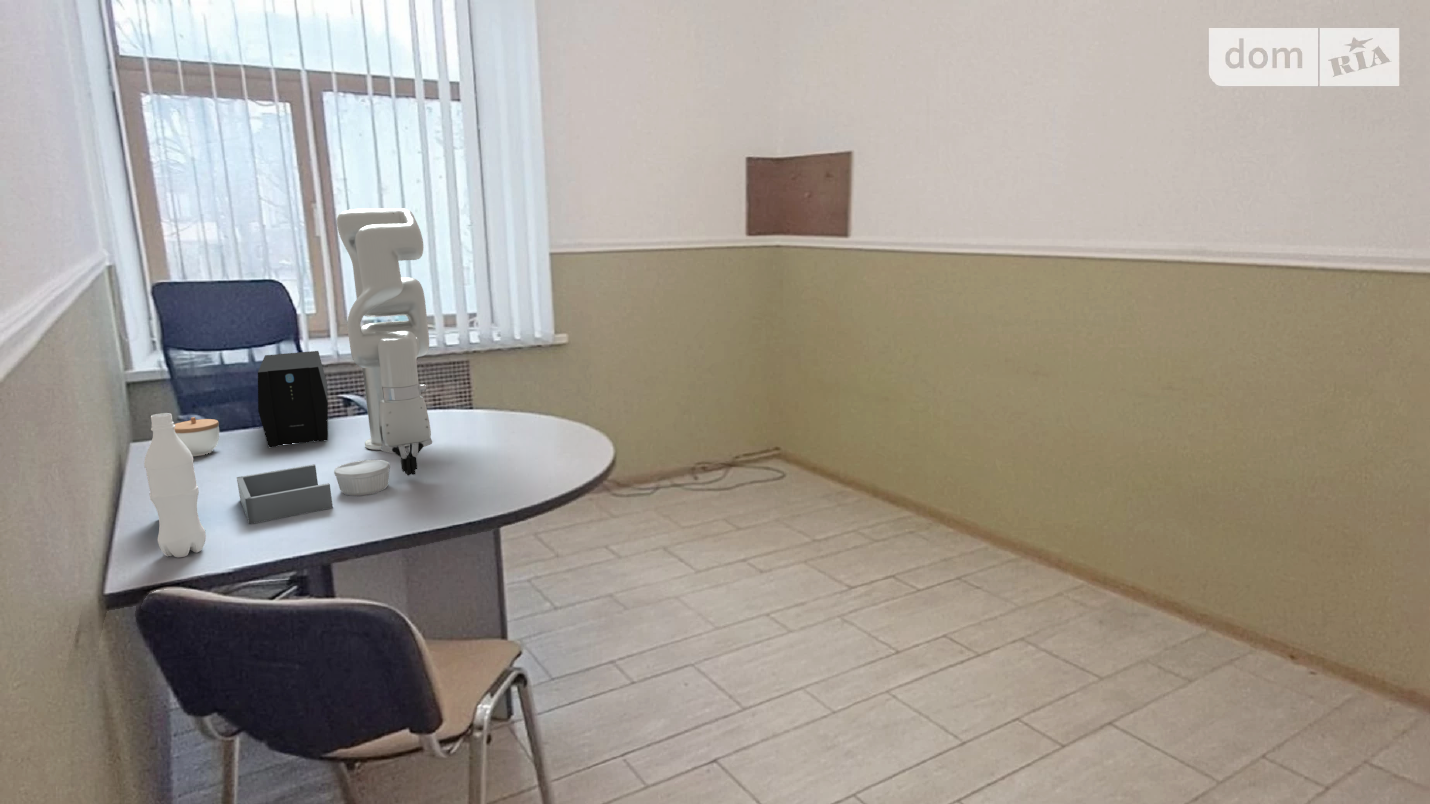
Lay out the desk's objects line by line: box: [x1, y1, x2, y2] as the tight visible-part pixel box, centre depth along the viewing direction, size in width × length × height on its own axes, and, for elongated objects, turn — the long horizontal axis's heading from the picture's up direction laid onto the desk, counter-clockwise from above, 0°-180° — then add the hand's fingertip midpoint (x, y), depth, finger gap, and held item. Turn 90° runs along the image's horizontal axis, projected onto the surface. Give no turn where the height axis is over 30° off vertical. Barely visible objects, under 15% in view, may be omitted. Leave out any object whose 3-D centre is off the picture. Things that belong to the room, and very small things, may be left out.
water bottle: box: [143, 412, 207, 558], centre depth 146 cm, size 7×7×25 cm
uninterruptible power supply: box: [257, 350, 329, 448], centre depth 235 cm, size 16×34×20 cm, turn 25°
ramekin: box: [333, 459, 391, 497], centre depth 182 cm, size 11×11×5 cm
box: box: [236, 464, 334, 525], centre depth 173 cm, size 15×18×5 cm
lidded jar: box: [173, 416, 220, 457], centre depth 214 cm, size 11×11×9 cm
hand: (410, 473), depth 187 cm, fingers closed
